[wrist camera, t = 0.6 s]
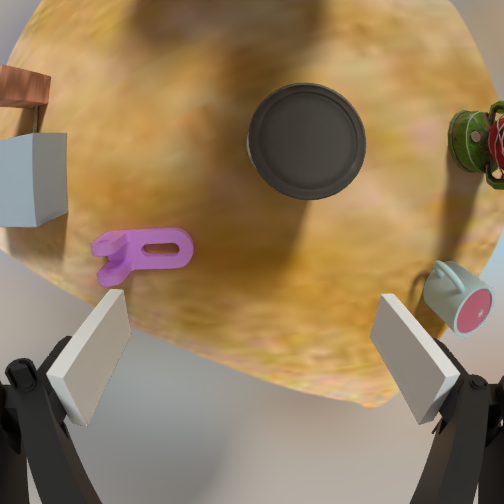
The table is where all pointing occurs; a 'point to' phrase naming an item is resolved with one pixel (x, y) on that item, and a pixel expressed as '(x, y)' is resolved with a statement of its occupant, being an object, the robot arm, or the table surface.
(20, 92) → the reddish brown block
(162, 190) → the table surface
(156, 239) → the bracket
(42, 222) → the box
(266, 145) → the coffee can
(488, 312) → the mug
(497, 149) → the lantern
